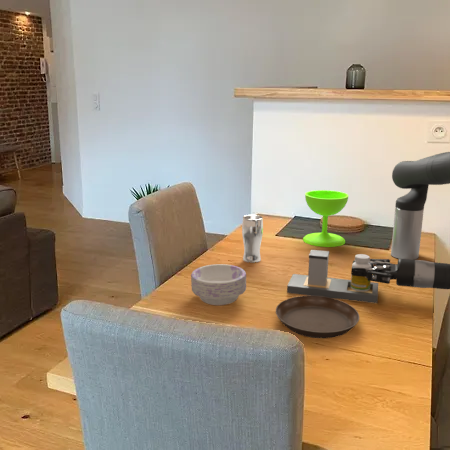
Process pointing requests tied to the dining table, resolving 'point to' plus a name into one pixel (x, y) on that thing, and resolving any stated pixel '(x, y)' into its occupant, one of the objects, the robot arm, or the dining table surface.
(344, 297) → the gray slotted tray
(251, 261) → the beer glass
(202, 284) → the paper bowls
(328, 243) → the wineglass
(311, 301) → the plant saucer
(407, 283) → the robot arm
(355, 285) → the supplement bottle
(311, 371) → the dining table surface
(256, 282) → the dining table surface
